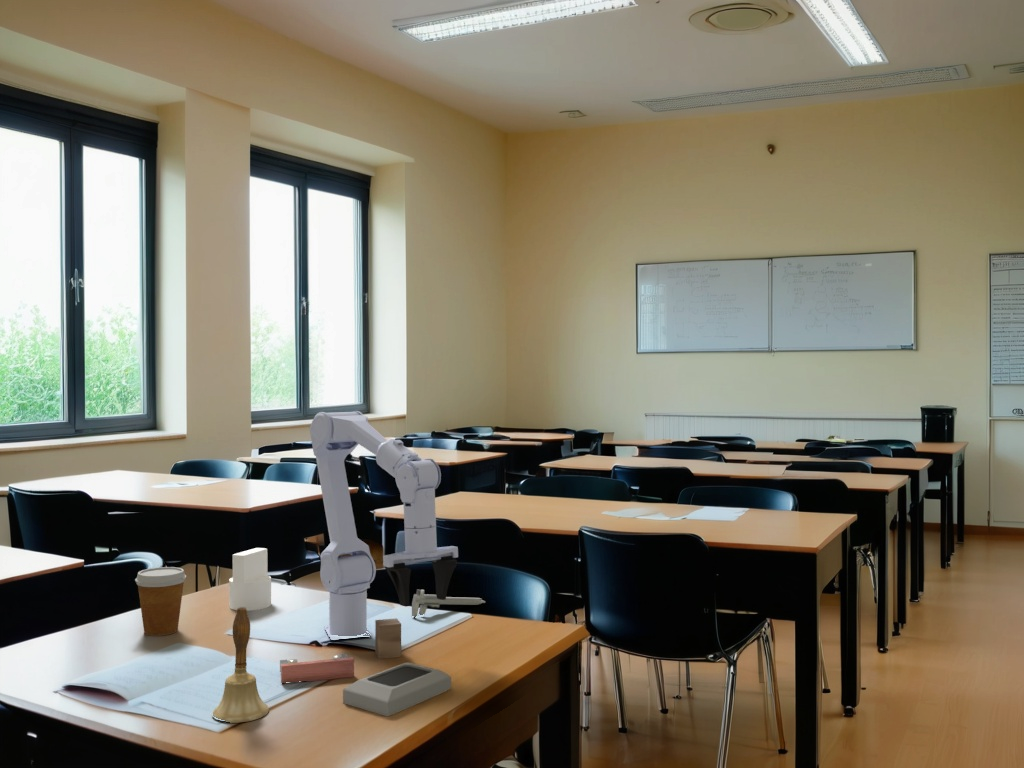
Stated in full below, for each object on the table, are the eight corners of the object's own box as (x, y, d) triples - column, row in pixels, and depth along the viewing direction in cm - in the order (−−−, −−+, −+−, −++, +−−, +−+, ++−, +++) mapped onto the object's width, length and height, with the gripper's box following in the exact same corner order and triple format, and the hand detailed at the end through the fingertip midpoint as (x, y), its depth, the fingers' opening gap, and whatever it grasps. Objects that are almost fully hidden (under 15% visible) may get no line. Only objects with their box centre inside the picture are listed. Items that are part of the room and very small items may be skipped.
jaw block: (375, 652, 171) (375, 620, 171) (396, 650, 172) (396, 618, 172) (379, 658, 167) (379, 625, 167) (401, 656, 168) (401, 623, 168)
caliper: (414, 620, 194) (414, 590, 194) (411, 619, 194) (411, 590, 194) (485, 603, 208) (485, 576, 208) (482, 602, 209) (482, 575, 209)
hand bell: (219, 704, 144) (219, 602, 144) (273, 702, 144) (273, 601, 144) (205, 724, 135) (205, 616, 135) (263, 722, 136) (263, 615, 136)
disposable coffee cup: (124, 635, 181) (124, 574, 181) (159, 623, 190) (159, 565, 190) (162, 640, 178) (162, 578, 178) (196, 628, 187) (196, 568, 186)
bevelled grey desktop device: (343, 682, 144) (407, 658, 157) (343, 705, 144) (407, 679, 157) (387, 694, 139) (451, 669, 151) (387, 719, 139) (451, 691, 151)
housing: (278, 671, 159) (278, 654, 159) (347, 665, 163) (347, 648, 163) (281, 684, 153) (281, 666, 153) (354, 676, 157) (354, 659, 157)
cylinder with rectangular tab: (254, 612, 199) (254, 556, 199) (220, 608, 202) (220, 553, 202) (279, 602, 208) (279, 549, 207) (246, 599, 211) (246, 546, 211)
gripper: (395, 532, 160) (398, 611, 159) (465, 524, 168) (468, 599, 168) (376, 529, 165) (379, 606, 165) (445, 521, 174) (448, 593, 173)
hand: (423, 602), depth 167 cm, fingers open, 7 cm apart
